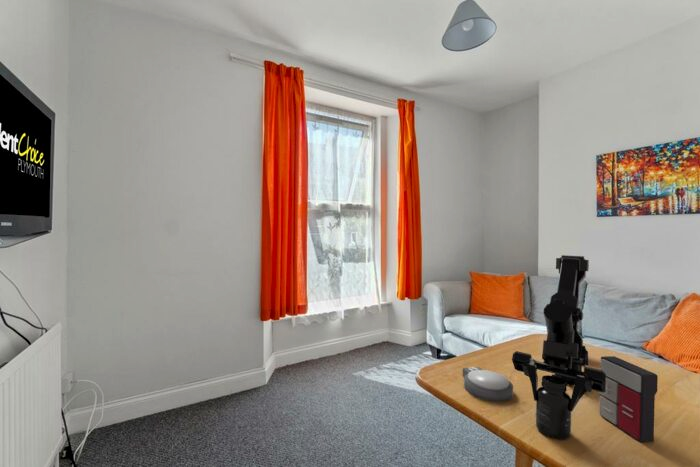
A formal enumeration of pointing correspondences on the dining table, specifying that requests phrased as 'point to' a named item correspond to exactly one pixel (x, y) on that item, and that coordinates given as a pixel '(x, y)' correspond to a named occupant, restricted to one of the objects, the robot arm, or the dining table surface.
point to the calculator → (629, 397)
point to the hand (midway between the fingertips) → (552, 405)
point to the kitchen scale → (487, 385)
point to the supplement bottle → (553, 408)
